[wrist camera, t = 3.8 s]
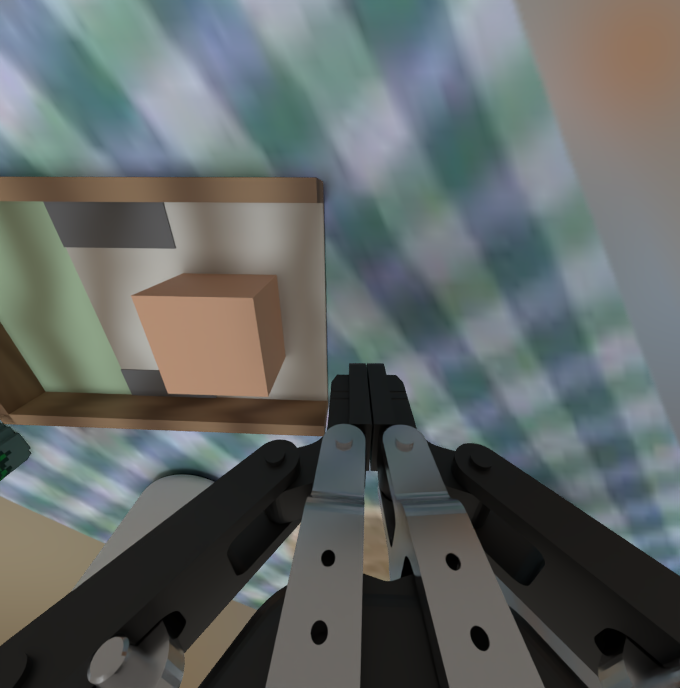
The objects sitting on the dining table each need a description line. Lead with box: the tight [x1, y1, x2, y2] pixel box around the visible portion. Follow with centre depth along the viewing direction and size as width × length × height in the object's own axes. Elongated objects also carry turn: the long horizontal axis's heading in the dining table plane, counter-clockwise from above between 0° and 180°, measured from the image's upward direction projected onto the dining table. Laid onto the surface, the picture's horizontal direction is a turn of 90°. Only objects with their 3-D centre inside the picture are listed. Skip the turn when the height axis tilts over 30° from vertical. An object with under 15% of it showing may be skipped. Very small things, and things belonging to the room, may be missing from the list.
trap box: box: [0, 177, 328, 436], centre depth 17 cm, size 24×16×3 cm, turn 90°
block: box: [131, 273, 286, 397], centre depth 16 cm, size 6×6×4 cm
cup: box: [71, 474, 214, 592], centre depth 25 cm, size 10×10×10 cm
